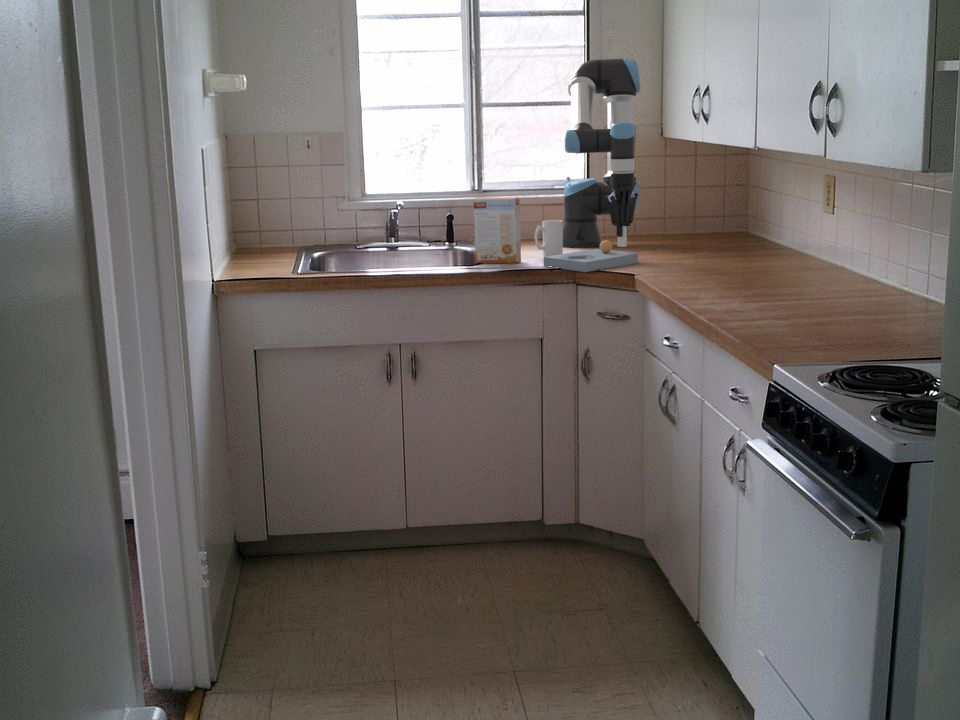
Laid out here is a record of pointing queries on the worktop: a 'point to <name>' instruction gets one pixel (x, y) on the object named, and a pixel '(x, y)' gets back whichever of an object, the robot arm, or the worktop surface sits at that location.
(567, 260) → the tray
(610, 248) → the ball
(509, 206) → the cracker box
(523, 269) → the worktop surface
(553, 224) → the mug
